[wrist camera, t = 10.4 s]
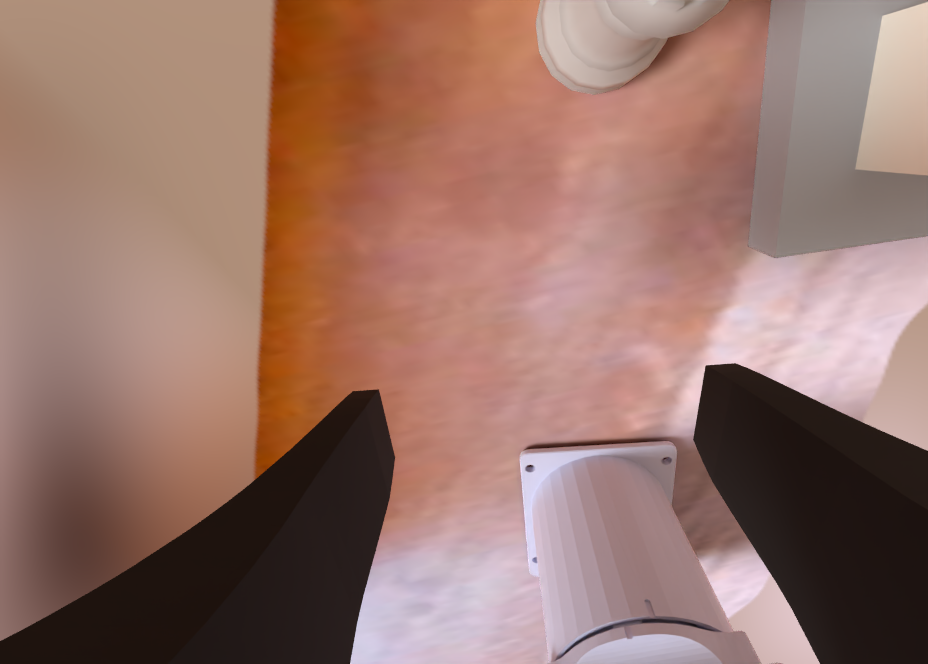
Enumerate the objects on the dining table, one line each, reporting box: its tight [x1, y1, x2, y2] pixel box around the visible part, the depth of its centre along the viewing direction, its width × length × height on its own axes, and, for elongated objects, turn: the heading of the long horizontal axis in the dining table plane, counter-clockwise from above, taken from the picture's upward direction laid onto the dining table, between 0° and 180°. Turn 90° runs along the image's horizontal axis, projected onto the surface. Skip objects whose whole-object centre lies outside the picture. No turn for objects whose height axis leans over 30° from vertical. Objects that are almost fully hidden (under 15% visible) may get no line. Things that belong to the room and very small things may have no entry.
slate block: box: [748, 0, 928, 258], centre depth 15 cm, size 10×10×2 cm
